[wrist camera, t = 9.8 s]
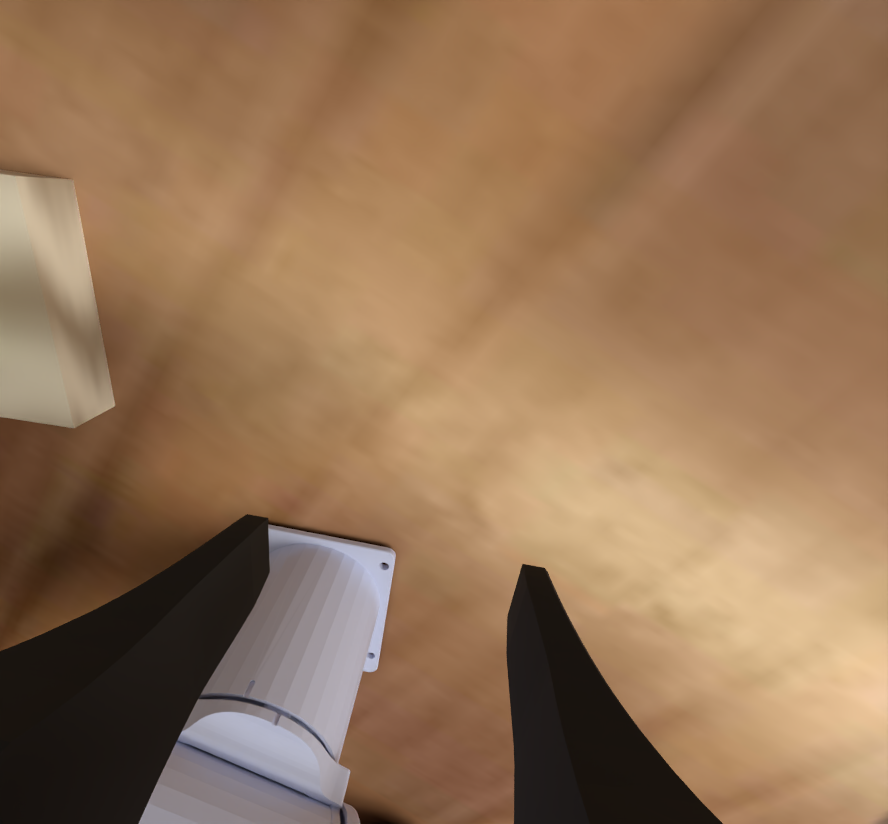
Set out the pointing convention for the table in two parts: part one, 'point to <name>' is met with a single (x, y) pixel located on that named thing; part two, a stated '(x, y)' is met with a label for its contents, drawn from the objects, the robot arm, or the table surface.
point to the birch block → (47, 307)
